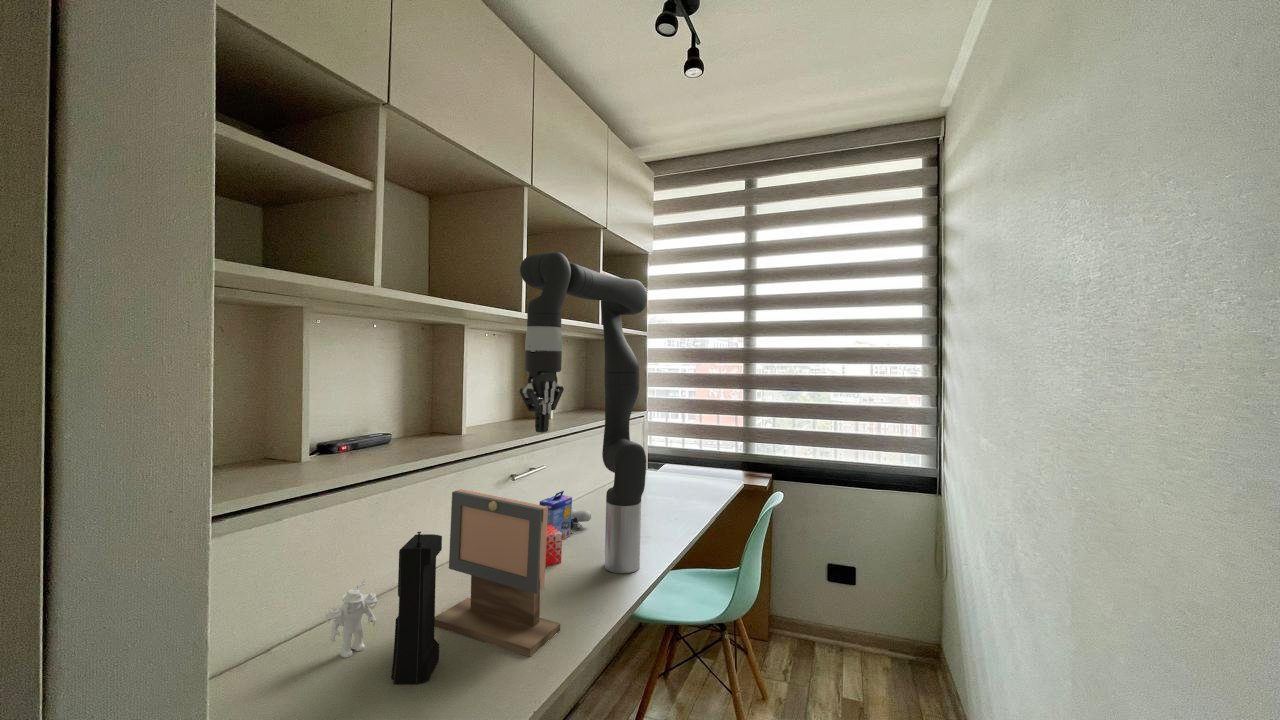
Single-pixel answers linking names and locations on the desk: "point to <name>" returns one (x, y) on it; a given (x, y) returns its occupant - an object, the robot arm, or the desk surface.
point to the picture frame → (499, 539)
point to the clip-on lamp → (579, 517)
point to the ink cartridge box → (559, 513)
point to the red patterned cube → (553, 546)
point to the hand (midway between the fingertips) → (541, 431)
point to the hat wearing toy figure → (351, 619)
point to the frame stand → (500, 617)
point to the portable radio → (416, 611)
